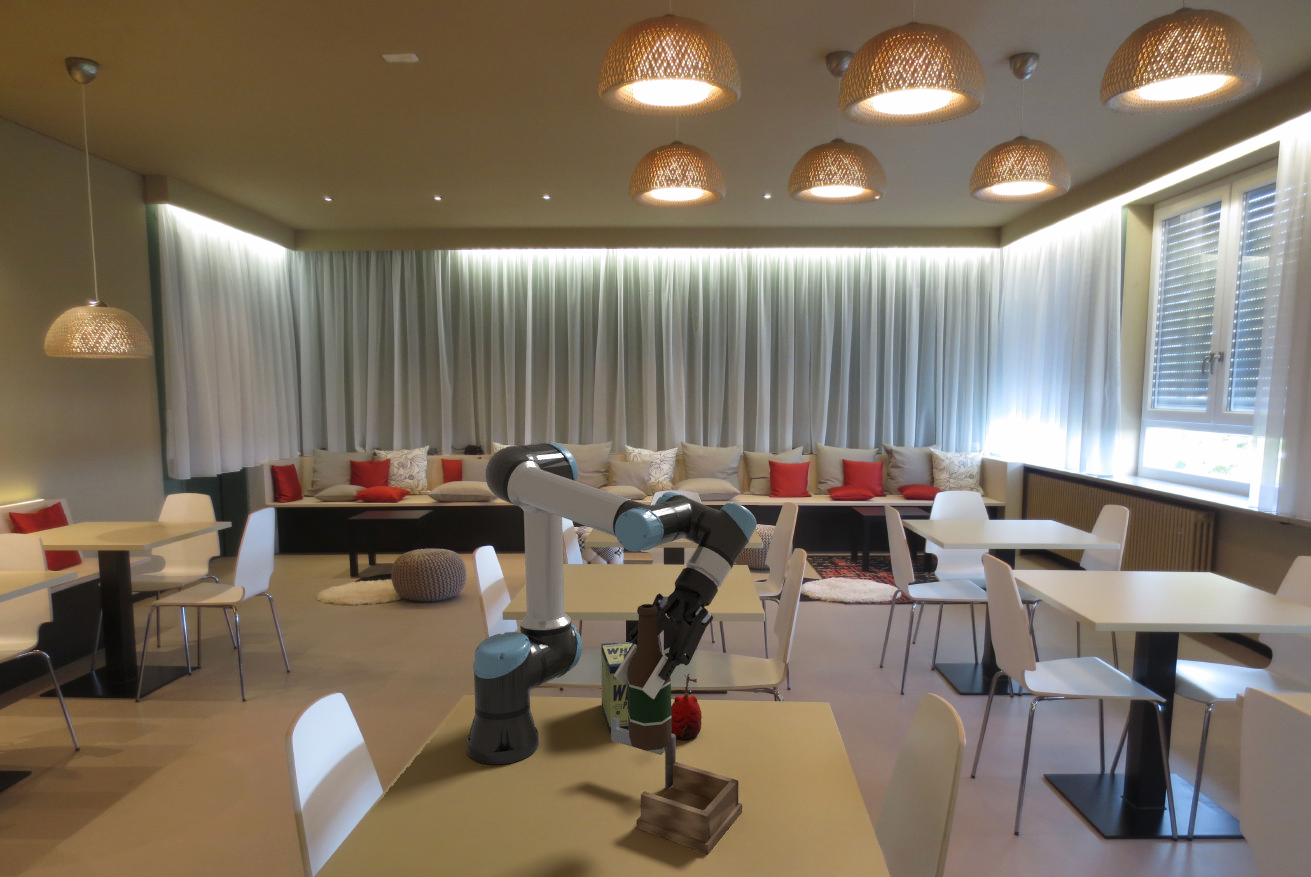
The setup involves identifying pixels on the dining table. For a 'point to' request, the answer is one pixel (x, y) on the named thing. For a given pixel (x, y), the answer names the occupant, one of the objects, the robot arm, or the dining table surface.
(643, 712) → the beer bottle
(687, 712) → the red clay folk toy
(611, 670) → the protein box
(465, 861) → the dining table surface
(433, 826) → the dining table surface
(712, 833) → the wooden crate
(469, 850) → the dining table surface
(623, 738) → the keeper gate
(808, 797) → the dining table surface
